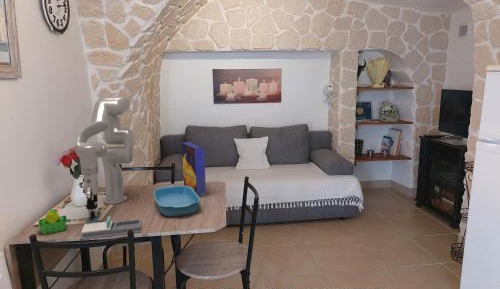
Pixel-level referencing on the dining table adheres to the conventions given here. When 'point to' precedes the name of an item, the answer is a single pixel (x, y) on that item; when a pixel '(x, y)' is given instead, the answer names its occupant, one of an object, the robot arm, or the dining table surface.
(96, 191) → the robot arm
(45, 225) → the fruit basket
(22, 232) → the dining table surface
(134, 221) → the dock
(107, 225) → the shutter lid
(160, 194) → the casserole dish
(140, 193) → the dining table surface
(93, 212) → the push button
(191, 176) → the cereal box
